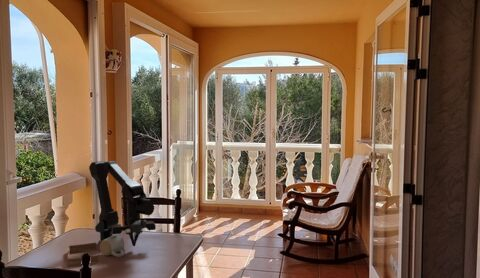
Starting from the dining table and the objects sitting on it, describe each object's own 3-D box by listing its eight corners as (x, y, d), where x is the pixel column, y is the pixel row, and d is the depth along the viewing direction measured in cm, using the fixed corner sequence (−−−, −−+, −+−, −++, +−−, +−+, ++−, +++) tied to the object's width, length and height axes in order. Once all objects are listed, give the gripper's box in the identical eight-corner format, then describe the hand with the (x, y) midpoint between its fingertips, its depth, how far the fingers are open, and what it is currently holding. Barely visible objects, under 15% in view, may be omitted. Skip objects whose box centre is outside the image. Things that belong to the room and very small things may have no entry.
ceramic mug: (98, 254, 169) (98, 237, 168) (112, 249, 176) (112, 232, 175) (116, 259, 164) (116, 242, 163) (129, 253, 171) (130, 236, 170)
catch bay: (68, 252, 171) (67, 245, 171) (96, 248, 176) (96, 242, 176) (67, 266, 155) (67, 259, 155) (98, 262, 160) (98, 255, 160)
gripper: (113, 218, 162) (114, 254, 163) (158, 214, 170) (158, 249, 171) (111, 212, 172) (111, 246, 173) (153, 208, 180) (153, 241, 181)
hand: (133, 245), depth 174 cm, fingers closed
